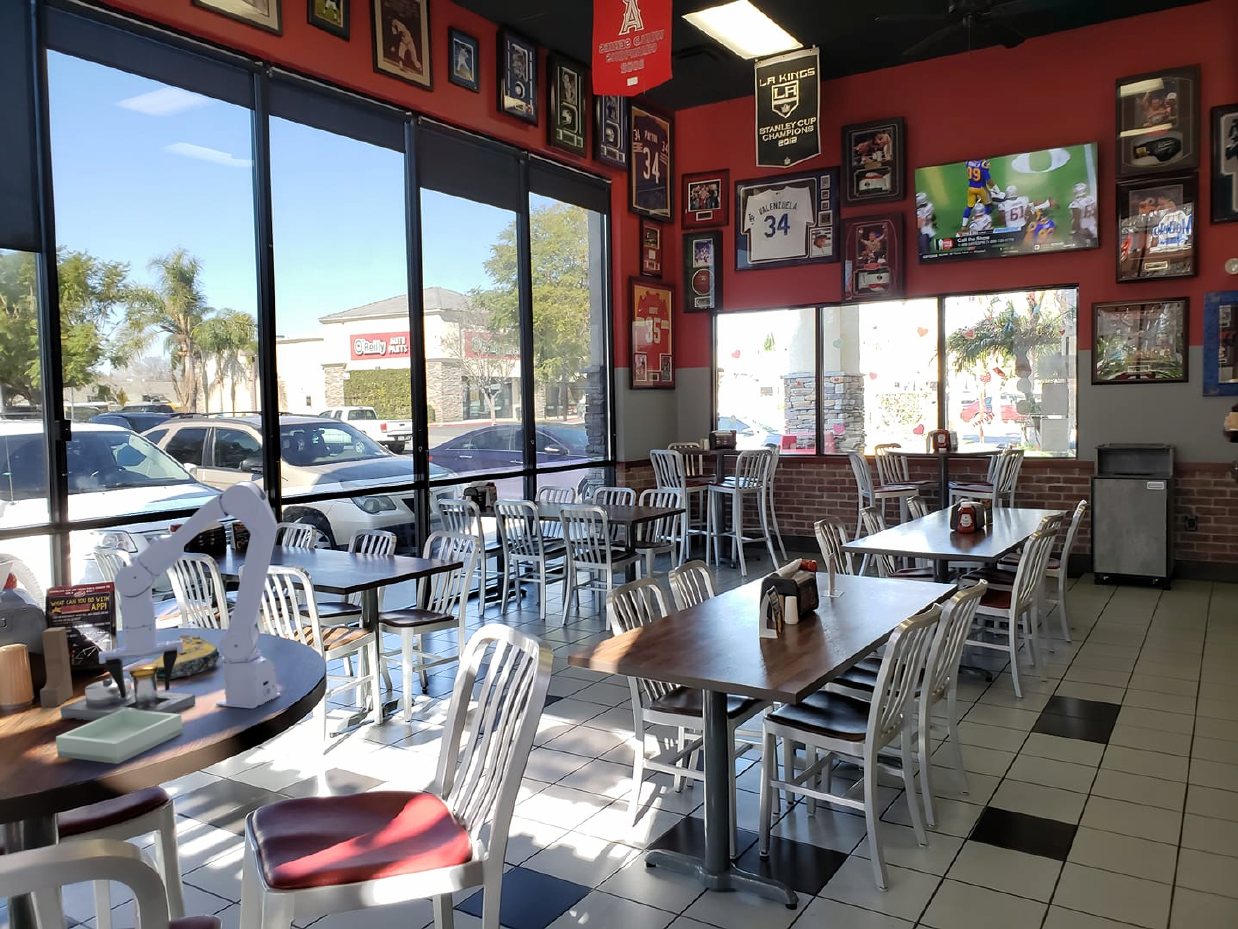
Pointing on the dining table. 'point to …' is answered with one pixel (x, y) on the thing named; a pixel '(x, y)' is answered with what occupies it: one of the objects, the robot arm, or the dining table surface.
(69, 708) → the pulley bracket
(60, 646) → the wooden block
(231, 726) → the dining table surface
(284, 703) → the dining table surface
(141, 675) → the pin
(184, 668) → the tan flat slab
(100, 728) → the tray
